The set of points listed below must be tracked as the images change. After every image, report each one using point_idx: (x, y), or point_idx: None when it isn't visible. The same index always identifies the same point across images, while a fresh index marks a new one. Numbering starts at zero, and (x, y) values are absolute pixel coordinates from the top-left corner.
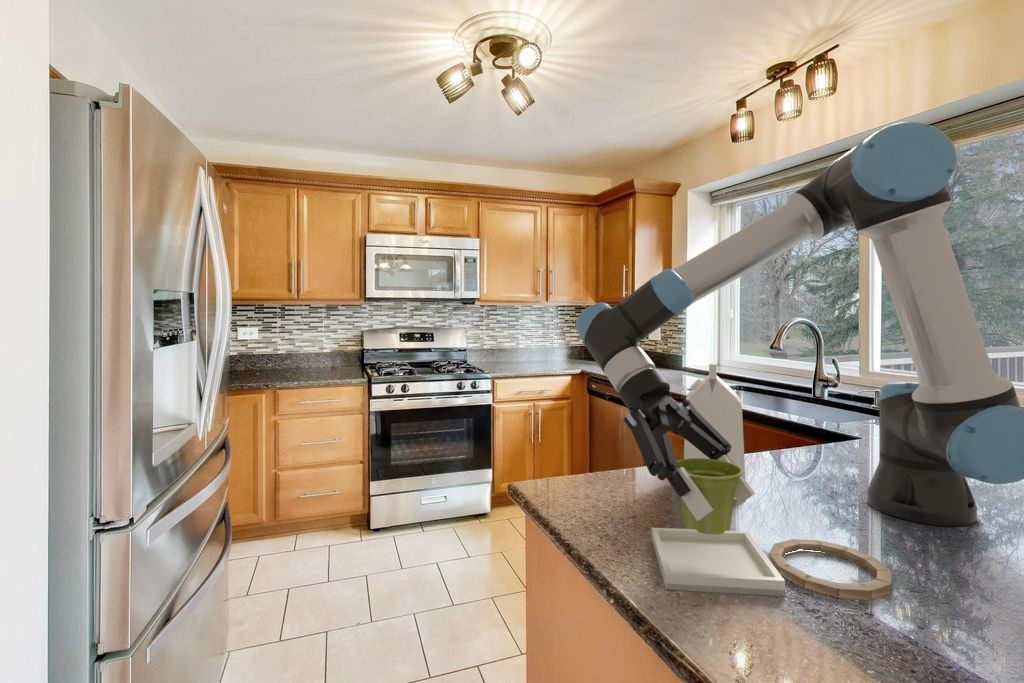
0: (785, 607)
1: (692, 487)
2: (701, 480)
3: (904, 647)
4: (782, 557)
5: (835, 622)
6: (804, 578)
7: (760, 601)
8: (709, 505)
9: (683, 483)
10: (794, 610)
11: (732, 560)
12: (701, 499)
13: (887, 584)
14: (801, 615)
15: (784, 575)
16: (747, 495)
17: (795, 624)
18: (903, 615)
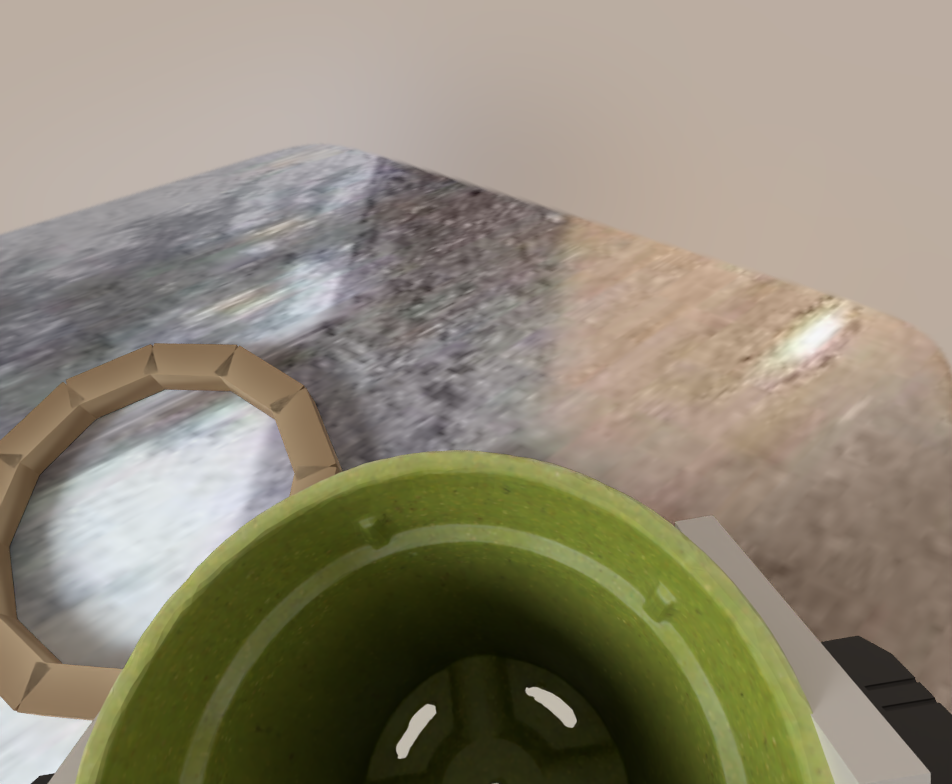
0: (499, 434)
1: (800, 621)
2: (697, 607)
3: (404, 233)
4: None
5: (444, 338)
6: (327, 468)
7: None
8: (692, 534)
9: (872, 690)
10: (489, 414)
11: (414, 719)
12: (746, 559)
13: (163, 345)
14: (495, 391)
15: None
16: None
17: (550, 372)
18: (263, 295)
